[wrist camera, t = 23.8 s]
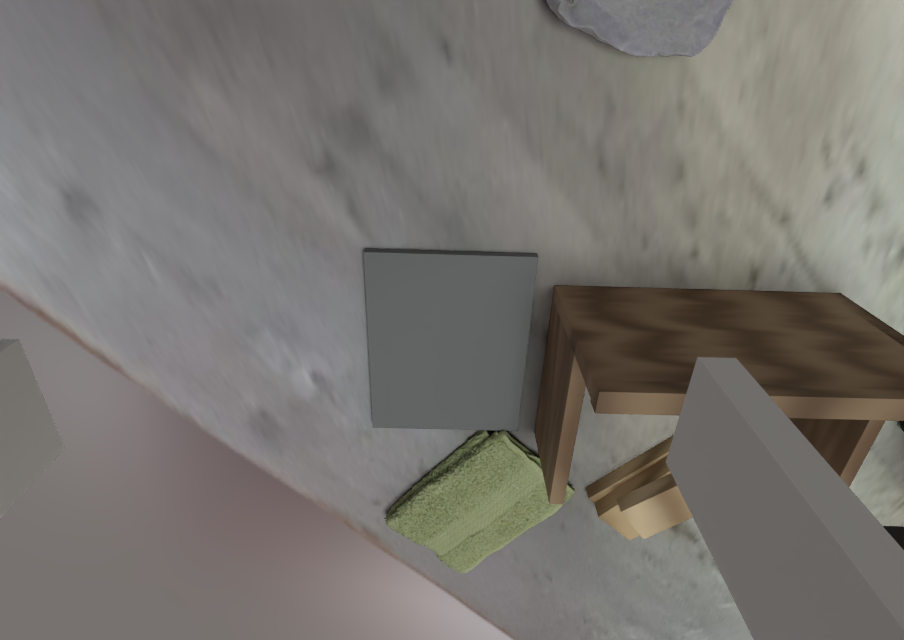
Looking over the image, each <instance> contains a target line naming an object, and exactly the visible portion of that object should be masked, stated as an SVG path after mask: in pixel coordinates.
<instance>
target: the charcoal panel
mask: <svg viewBox="0 0 904 640" xmlns="http://www.w3.org/2000/svg"><path fill="white" fill-rule="evenodd" d="M537 264H538V255H537V253H503V252H468V251H434V250H400V249H366V248H365V250H364V270H365V289H366V308H367V327H368V346H369V365H370V384H371V403H372V422H373V428H415V429H457V430H499V431H502V430H505V431H518V425H519V417H520V408H521V400H522V391H523V383H524V374H525V366H526V357H527V349H528V340H529V332H530V323H531V315H532V307H533V298H534V290H535V281H536V273H537Z"/></svg>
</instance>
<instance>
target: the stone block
mask: <svg viewBox="0 0 904 640" xmlns="http://www.w3.org/2000/svg"><path fill="white" fill-rule="evenodd" d="M732 1H733V0H547V4H548V5H549V7H550V9H551V10H552V11H553V12H554V13H555V14H556V15H557V17H558V18H559V19H560V20H561V21H563V22H564V23H566V24H567V25H568V26H570V27H573V28H576V29H579V30H582V31H584V32H586V33H588V34H590V35H592V36H594V37H595V38H596V39H597V40H599V41H601V42H603V43H607V44H610V45H611V46H613V47H614V48H616V49H617V50H621V51H623V52H626V53H628V54H630V55H633V56H636V57H646V56H656V55H658V56H663V57H667V56H670V55H680V56H688V57H692V56H694V55H696V54H698V53H700V52H701V51H702V50H703V49H704V48H705V47H706V46H707V45H708V44H709V43H710V42H711V40H712V39H713V38H714V37H715V35H716V33H717V31H718V29H719V27H720V25H721V22H722V20H723V17H724V16H725V14H726V12H727V10H728V9H729V6H730V5H731V3H732Z"/></svg>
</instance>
